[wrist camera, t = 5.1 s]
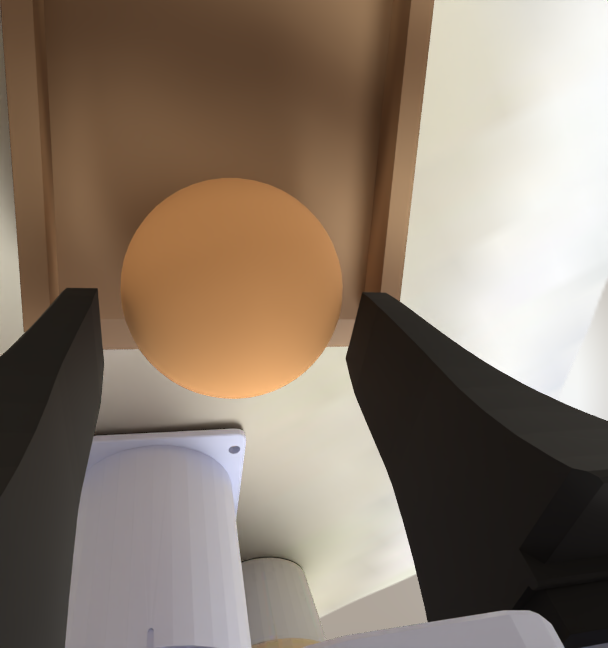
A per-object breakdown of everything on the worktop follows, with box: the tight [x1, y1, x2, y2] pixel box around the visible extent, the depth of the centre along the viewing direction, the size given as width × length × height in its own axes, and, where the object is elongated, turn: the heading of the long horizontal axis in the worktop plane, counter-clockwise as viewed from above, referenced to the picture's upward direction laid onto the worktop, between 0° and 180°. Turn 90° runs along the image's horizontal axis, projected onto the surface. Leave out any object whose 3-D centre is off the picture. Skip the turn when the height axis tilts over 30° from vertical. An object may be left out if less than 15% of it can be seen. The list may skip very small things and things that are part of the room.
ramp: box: [0, 0, 434, 349], centre depth 14 cm, size 14×10×7 cm
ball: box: [121, 178, 343, 399], centre depth 12 cm, size 5×5×5 cm
